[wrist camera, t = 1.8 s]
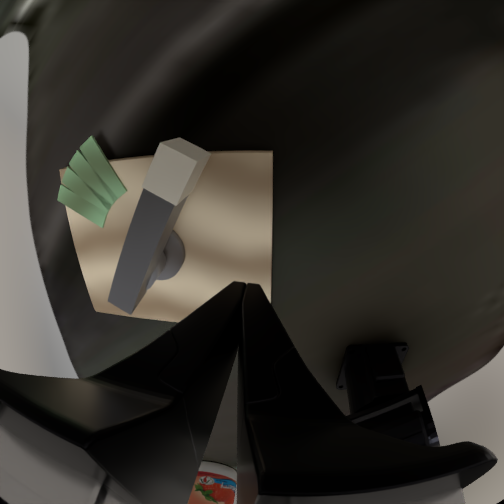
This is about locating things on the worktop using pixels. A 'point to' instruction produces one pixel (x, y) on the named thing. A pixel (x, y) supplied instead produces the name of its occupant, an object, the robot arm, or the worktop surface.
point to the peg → (155, 220)
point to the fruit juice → (214, 484)
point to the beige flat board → (183, 234)
